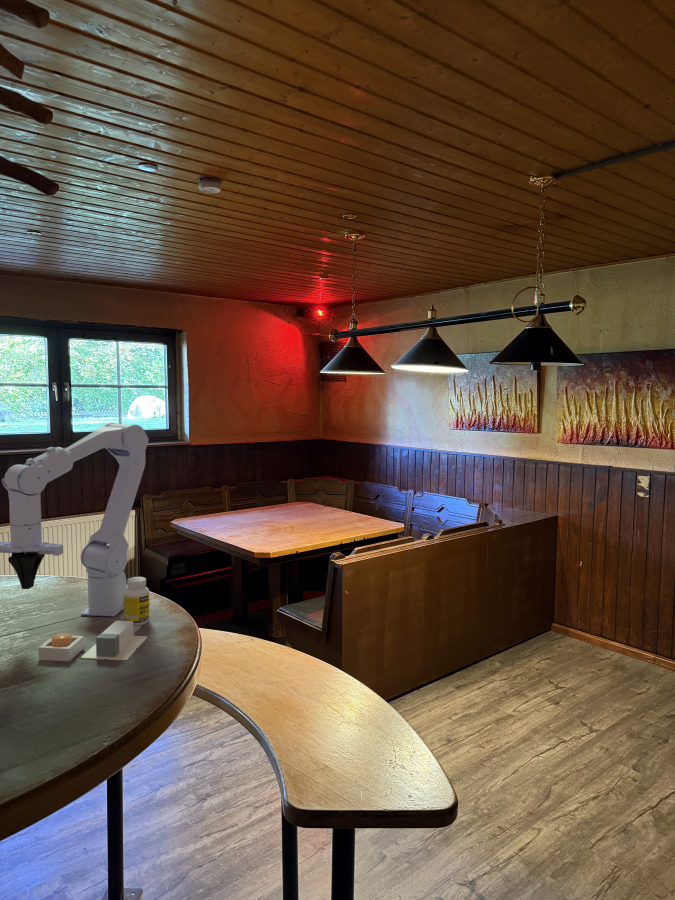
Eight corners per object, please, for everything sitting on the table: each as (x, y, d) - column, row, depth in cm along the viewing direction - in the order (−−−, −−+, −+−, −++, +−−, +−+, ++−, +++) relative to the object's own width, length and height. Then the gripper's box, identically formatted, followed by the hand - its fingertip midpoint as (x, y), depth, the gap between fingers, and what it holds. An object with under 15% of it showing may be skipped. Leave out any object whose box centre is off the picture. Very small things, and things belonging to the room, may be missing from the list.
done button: (57, 647, 120) (57, 632, 120) (75, 648, 120) (75, 633, 119) (48, 655, 116) (47, 640, 116) (66, 655, 116) (65, 640, 116)
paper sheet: (105, 635, 127) (105, 634, 127) (147, 637, 127) (147, 636, 127) (80, 658, 116) (80, 657, 116) (126, 660, 116) (126, 659, 116)
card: (113, 626, 132) (113, 624, 132) (140, 627, 132) (140, 625, 132) (105, 633, 128) (105, 631, 128) (133, 634, 128) (133, 633, 128)
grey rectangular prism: (116, 637, 126) (116, 619, 126) (133, 637, 126) (133, 620, 125) (96, 656, 117) (95, 637, 117) (114, 656, 117) (114, 638, 116)
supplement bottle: (141, 627, 132) (141, 584, 131) (119, 625, 133) (118, 581, 132) (154, 618, 137) (153, 576, 136) (132, 616, 138) (131, 574, 137)
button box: (55, 646, 121) (54, 634, 121) (84, 648, 121) (84, 636, 121) (38, 660, 115) (38, 647, 115) (69, 661, 115) (69, 648, 115)
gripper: (-21, 526, 120) (-19, 592, 121) (49, 528, 119) (51, 595, 121) (0, 518, 127) (2, 581, 128) (67, 521, 126) (69, 584, 128)
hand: (27, 587), depth 125 cm, fingers closed
